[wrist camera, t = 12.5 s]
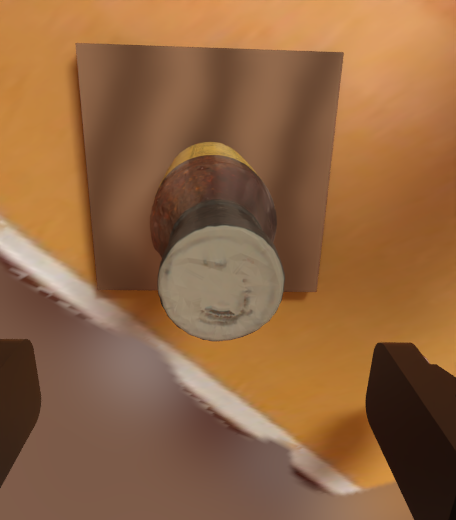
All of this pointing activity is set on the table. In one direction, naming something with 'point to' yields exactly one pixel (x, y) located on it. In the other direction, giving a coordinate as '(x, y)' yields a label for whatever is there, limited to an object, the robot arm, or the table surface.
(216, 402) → the table surface
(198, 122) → the walnut board
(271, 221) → the sauce bottle
